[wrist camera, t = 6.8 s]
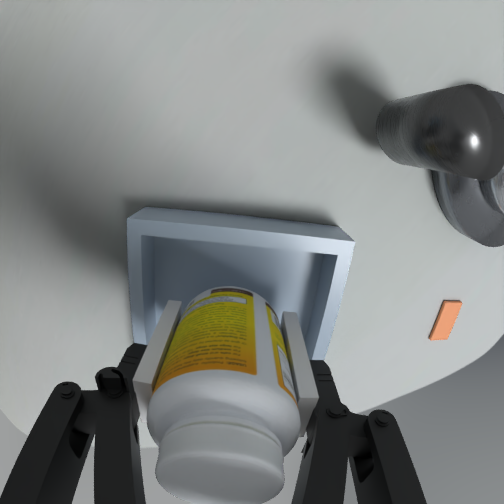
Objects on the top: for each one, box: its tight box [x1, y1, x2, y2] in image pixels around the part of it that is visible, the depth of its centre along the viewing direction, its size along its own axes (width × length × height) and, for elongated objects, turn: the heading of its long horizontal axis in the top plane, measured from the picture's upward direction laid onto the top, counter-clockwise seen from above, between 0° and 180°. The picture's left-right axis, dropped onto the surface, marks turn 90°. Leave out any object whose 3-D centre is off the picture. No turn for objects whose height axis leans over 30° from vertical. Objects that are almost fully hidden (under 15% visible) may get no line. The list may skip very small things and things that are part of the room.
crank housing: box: [432, 91, 504, 247], centre depth 15 cm, size 11×11×2 cm
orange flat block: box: [429, 301, 462, 340], centre depth 20 cm, size 2×4×1 cm, turn 173°
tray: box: [127, 207, 355, 361], centre depth 18 cm, size 12×12×3 cm
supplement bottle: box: [147, 286, 301, 504], centre depth 12 cm, size 6×6×10 cm
